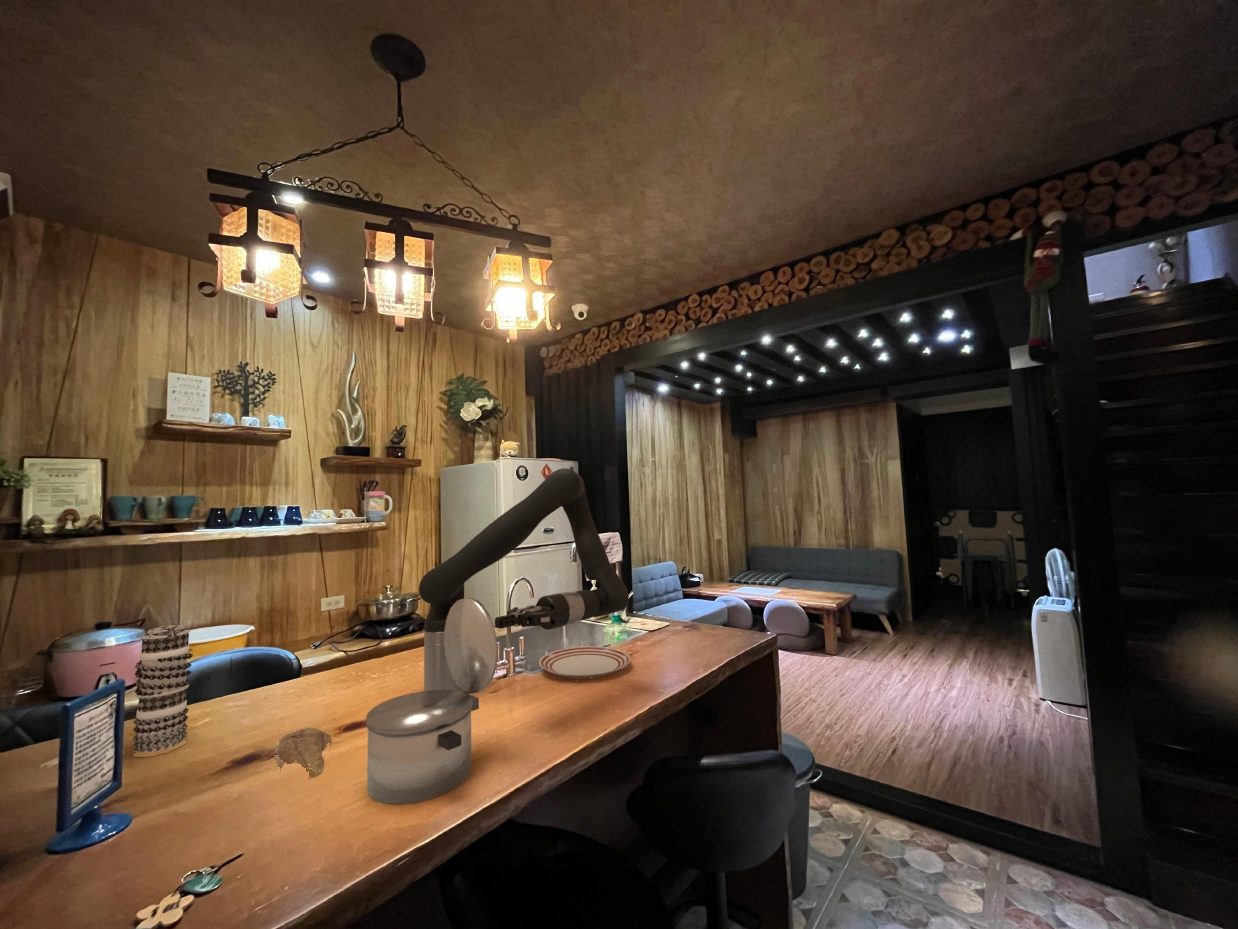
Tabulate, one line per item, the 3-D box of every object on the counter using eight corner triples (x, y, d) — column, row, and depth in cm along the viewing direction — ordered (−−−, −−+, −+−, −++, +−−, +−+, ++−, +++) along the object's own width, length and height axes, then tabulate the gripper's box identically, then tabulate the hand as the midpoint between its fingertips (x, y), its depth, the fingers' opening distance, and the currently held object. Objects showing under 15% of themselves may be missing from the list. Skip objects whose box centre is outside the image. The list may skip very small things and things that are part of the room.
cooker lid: (444, 683, 104) (466, 676, 108) (492, 703, 92) (516, 695, 96) (444, 595, 106) (466, 591, 110) (491, 603, 94) (514, 599, 98)
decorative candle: (197, 735, 112) (202, 620, 114) (175, 754, 103) (181, 629, 105) (146, 743, 109) (152, 624, 111) (119, 762, 100) (126, 633, 102)
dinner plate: (650, 667, 149) (649, 656, 150) (577, 692, 131) (577, 679, 131) (591, 651, 169) (590, 641, 170) (521, 671, 151) (521, 659, 151)
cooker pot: (376, 757, 98) (377, 694, 99) (478, 741, 104) (477, 681, 105) (352, 822, 77) (353, 740, 78) (481, 797, 83) (480, 721, 84)
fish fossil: (344, 771, 94) (343, 765, 94) (278, 796, 87) (278, 790, 87) (318, 727, 113) (318, 722, 114) (263, 745, 107) (263, 740, 107)
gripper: (542, 591, 122) (479, 602, 109) (579, 595, 113) (515, 608, 100) (542, 622, 121) (479, 637, 108) (580, 630, 112) (515, 646, 100)
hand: (497, 623), depth 104 cm, fingers closed
